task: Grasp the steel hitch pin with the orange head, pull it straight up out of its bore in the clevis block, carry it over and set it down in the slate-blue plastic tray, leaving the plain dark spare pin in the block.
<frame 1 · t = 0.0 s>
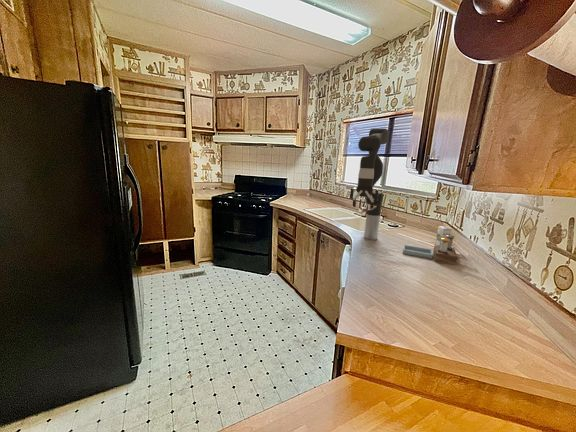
hand: (362, 208, 130), 29 cm above the counter, fingers open, 8 cm apart
tray: (416, 253, 149), on the counter
spare pin: (446, 256, 146), resting in clevis block
syrup box: (441, 248, 159), on the counter
hitch pin: (441, 260, 140), resting in clevis block
clevis block: (443, 258, 143), on the counter
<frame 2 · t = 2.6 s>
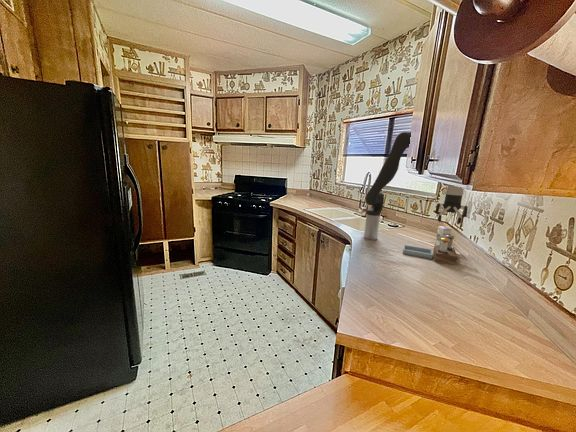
hand: (448, 223, 135), 22 cm above the counter, fingers open, 8 cm apart
nothing on the counter moved.
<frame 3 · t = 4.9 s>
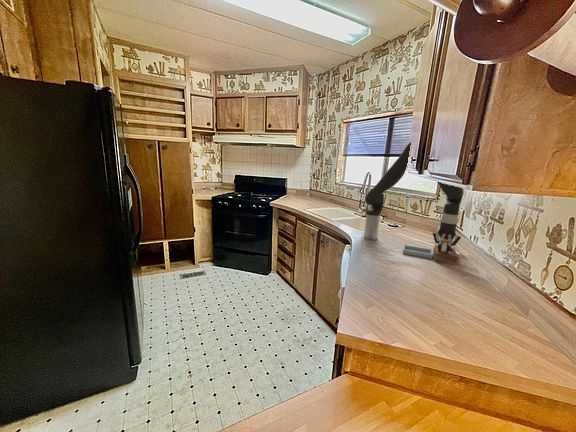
hand: (443, 250, 139), 6 cm above the counter, fingers closed on hitch pin, 3 cm apart
hitch pin: (441, 260, 140), resting in clevis block, touching gripper
everything else where it was.
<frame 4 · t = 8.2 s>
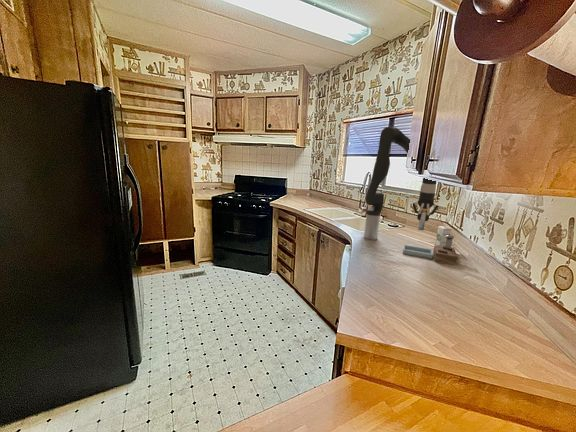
hand: (422, 220, 144), 21 cm above the counter, fingers closed on hitch pin, 3 cm apart
hitch pin: (420, 229, 146), point 15 cm above the counter, touching gripper
everything else where it was.
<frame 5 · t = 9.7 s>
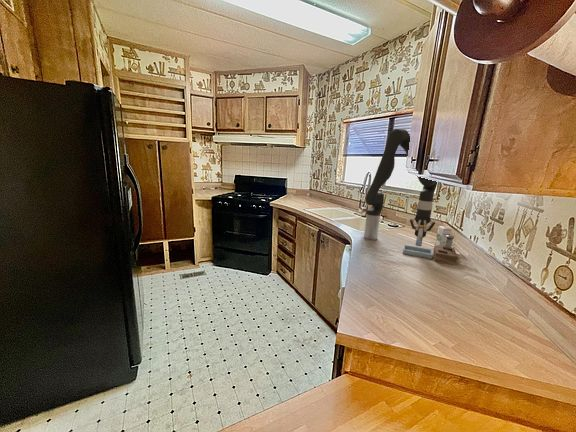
hand: (419, 236, 146), 11 cm above the counter, fingers closed on hitch pin, 3 cm apart
hitch pin: (418, 245, 148), point 5 cm above the counter, touching gripper
everything else where it was.
when the fingers open (7 cm above the counter, at t = 11.0 s): hitch pin stays where it is, resting on tray.
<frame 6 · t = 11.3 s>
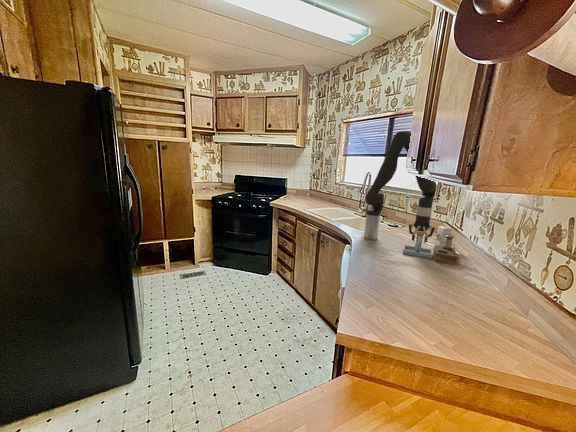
hand: (418, 241, 147), 8 cm above the counter, fingers open, 5 cm apart
hitch pin: (416, 252, 149), point 1 cm above the counter, touching tray
everything else where it was.
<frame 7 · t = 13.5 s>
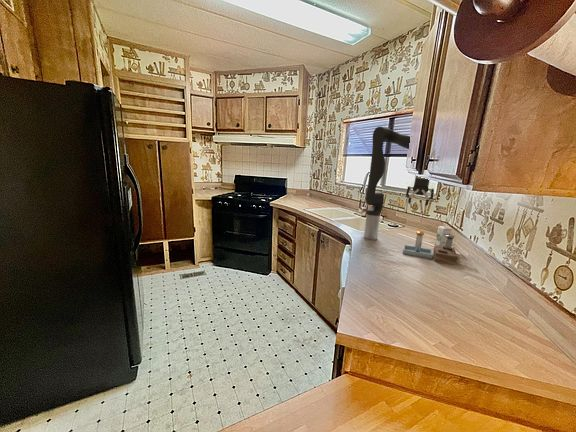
hand: (417, 204, 146), 29 cm above the counter, fingers open, 8 cm apart
nothing on the counter moved.
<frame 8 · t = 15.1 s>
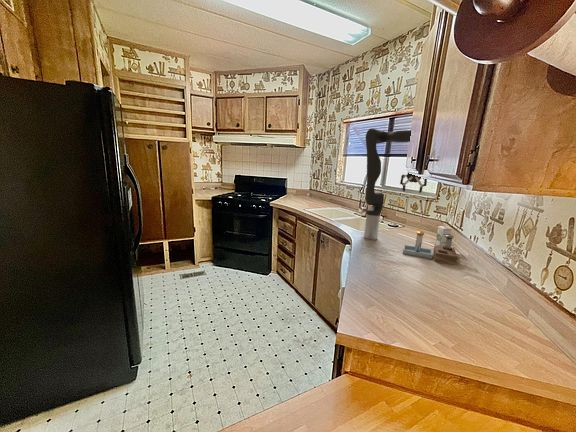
hand: (411, 192, 149), 36 cm above the counter, fingers open, 8 cm apart
nothing on the counter moved.
at the end: hitch pin inside the target area on the tray (0.1 cm from its centre), point 0.6 cm above the tray's base; the gripper is holding nothing; spare pin moved 0.0 cm from its start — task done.
